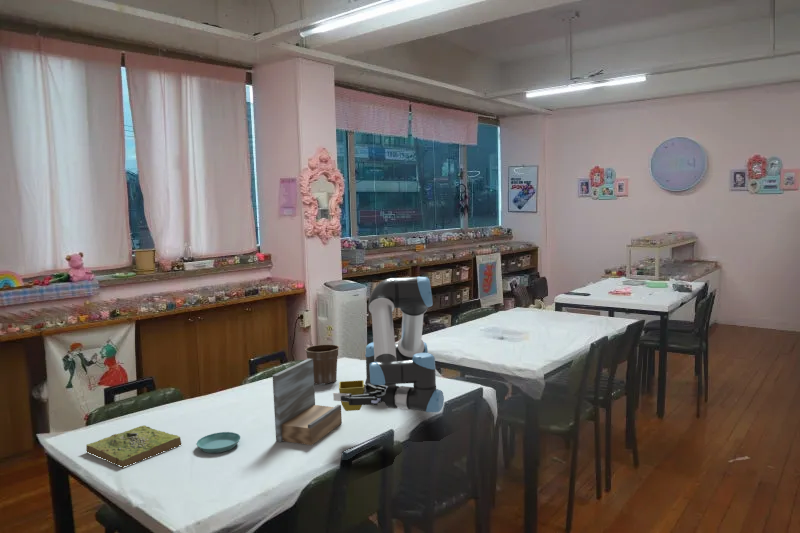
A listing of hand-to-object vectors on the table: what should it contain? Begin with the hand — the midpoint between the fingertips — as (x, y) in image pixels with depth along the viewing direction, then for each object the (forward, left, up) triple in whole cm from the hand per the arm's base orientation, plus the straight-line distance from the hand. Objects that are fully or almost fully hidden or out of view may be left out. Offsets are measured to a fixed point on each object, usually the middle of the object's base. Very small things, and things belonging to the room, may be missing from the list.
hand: (341, 391), depth 208 cm
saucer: (+36, -25, -17) cm, 47 cm away
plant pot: (-35, -63, -17) cm, 74 cm away
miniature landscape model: (+58, -45, -17) cm, 75 cm away
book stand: (+6, -13, -17) cm, 22 cm away
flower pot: (-2, +4, -6) cm, 7 cm away
